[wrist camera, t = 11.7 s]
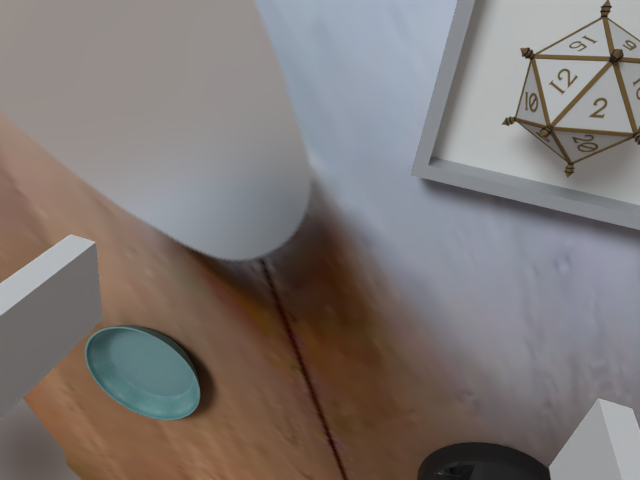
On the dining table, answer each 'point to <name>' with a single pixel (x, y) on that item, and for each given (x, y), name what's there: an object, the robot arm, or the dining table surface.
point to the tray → (502, 101)
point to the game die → (583, 91)
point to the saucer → (143, 371)
